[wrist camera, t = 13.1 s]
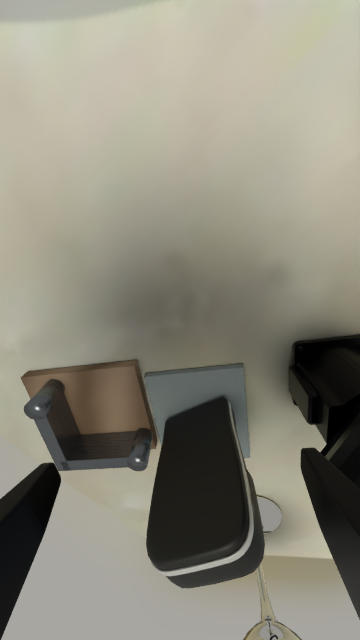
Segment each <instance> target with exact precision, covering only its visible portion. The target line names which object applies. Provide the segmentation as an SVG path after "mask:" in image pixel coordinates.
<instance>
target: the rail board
mask: <svg viewBox="0 0 360 640" xmlns="http://www.w3.org/2000/svg"><path fill="white" fill-rule="evenodd" d="M21 379H22V381H23V383H24V386H25V388H26V390H27V392H28V394H29V396H30V399H31V398H32V397H33V396H34V395H35V394H36V393H37V392H38V391H39V390H40V389H41V388H42V387H43V386H44V385H45V384H46V382H47V381H49V380H50V379H57V380H59V381H61V382H62V383H63V384H64V386H65V391H64V394H65V396H66V399H67V401H68V404H69V406H70V409H71V411H72V414H73V416H74V419H75V421H76V424H77V426H78V429H79V431H80V434H81V435H82V434H96V433H110V432H124V431H137V430H138V429H139V428H147V429H149V430H151V431H152V433H153V439H152V444H151V449H156V445H157V438H156V434H155V430H154V426H153V422H152V418H151V414H150V410H149V406H148V402H147V398H146V394H145V390H144V386H143V382H142V378H141V374H140V370H139V366H138V362H137V360H132V361H123V362H113V363H104V364H94V365H85V366H75V367H66V368H57V369H47V370H38V371H28V372H27V373H25V374H24V375H23V376H22V377H21Z"/></svg>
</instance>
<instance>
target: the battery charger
mask: <svg viewBox="0 0 360 640" xmlns="http://www.w3.org/2000/svg"><path fill="white" fill-rule="evenodd" d="M146 546H147V552H148V556H149V558H150V560H151V563H152V565H153V567H154V568H155V569H156V570H157V571H158V572H159V573H160V574H162V575H164V576H166V577H167V578H168V579H169V580H170V581H171V582H173V583H174V584H176V585H178V586H179V587H181V588H194V587H200V586H205V585H211V584H216V583H220V582H224V581H228V580H232V579H236V578H240V577H243V576H246V575H248V574H250V573H252V572H254V571H255V570H256V569H257V568H258V567H259V566H260V564H261V561H262V559H263V555H264V547H265V543H264V532H263V526H262V521H261V516H260V510H259V505H258V500H257V496H256V491H255V487H254V483H253V479H252V477H251V475H250V473H249V472H248V470H247V469H246V465H245V461H244V458H243V454H242V450H241V446H240V442H239V439H238V435H237V429H236V420H235V415H234V412H233V409H232V407H231V404H230V402H229V401H228V400H227V399H226V398H225V397H221V398H218V399H216V400H213V401H210V402H208V403H205V404H203V405H200V406H198V407H195V408H193V409H191V410H188V411H186V412H184V413H181V414H179V415H177V416H175V417H172V418H170V419H168V420H166V421H165V427H164V435H163V441H162V447H161V452H160V457H159V462H158V467H157V472H156V477H155V482H154V488H153V494H152V500H151V506H150V513H149V520H148V528H147V540H146Z"/></svg>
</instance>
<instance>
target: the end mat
mask: <svg viewBox="0 0 360 640" xmlns="http://www.w3.org/2000/svg"><path fill="white" fill-rule="evenodd" d="M144 378H145V382H146V386H147V390H148V394H149V398H150V402H151V406H152V410H153V414H154V419H155V423H156V427H157V431H158V435H159V439H160V443H161V447H162V441H163V435H164V427H165V421H166V420H168V419H170V418H172V417H175V416H177V415H179V414H181V413H184V412H186V411H188V410H191V409H193V408H195V407H198V406H200V405H203V404H205V403H208V402H210V401H213V400H216V399H218V398H221V397H225V398H226V399H227V400H228V401H229V402H230V404H231V407H232V409H233V412H234V415H235V420H236V429H237V435H238V439H239V442H240V446H241V450H242V454H243V458H249V457H250V448H249V434H248V419H247V405H246V391H245V377H244V366H243V364H233V365H223V366H213V367H203V368H193V369H183V370H173V371H163V372H153V373H145V376H144Z"/></svg>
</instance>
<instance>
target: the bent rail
mask: <svg viewBox="0 0 360 640" xmlns="http://www.w3.org/2000/svg"><path fill="white" fill-rule="evenodd" d="M64 391H65V386H64V384H63V383H62V382H61V381H59V380H57V379H50V380H49V381H47V382H46V384H45V385H44V386H43V387H42V388H41V389H40V390H39V391H38V392H37V393H36V394H35V395H34V396H33V397H32V398H31V400H30V401H29V402H28V403H27V404H26V405H25V406H24V412H25V414H26V415H27V416H28V417H29V418H31V419H34V421H35V423H36V425H37V427H38V429H39V431H40V433H41V435H42V437H43V440H44V442H45V444H46V446H47V448H48V450H49V452H50V454H51V456H52V458H53V461H54V463H55V465H56V467H57V469H58V471H67V470H86V469H104V468H123V467H129V468H130V469H132V470H135V471H142V470H144V469H146V467H147V464H148V459H149V454H150V449H151V444H152V439H153V433H152V431H151V430H149V429H147V428H139V429H138V430H137V431H124V432H110V433H96V434H82V435H81V434H80V431H79V429H78V426H77V424H76V421H75V419H74V416H73V414H72V411H71V409H70V406H69V404H68V401H67V399H66V396H65V394H64Z"/></svg>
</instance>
